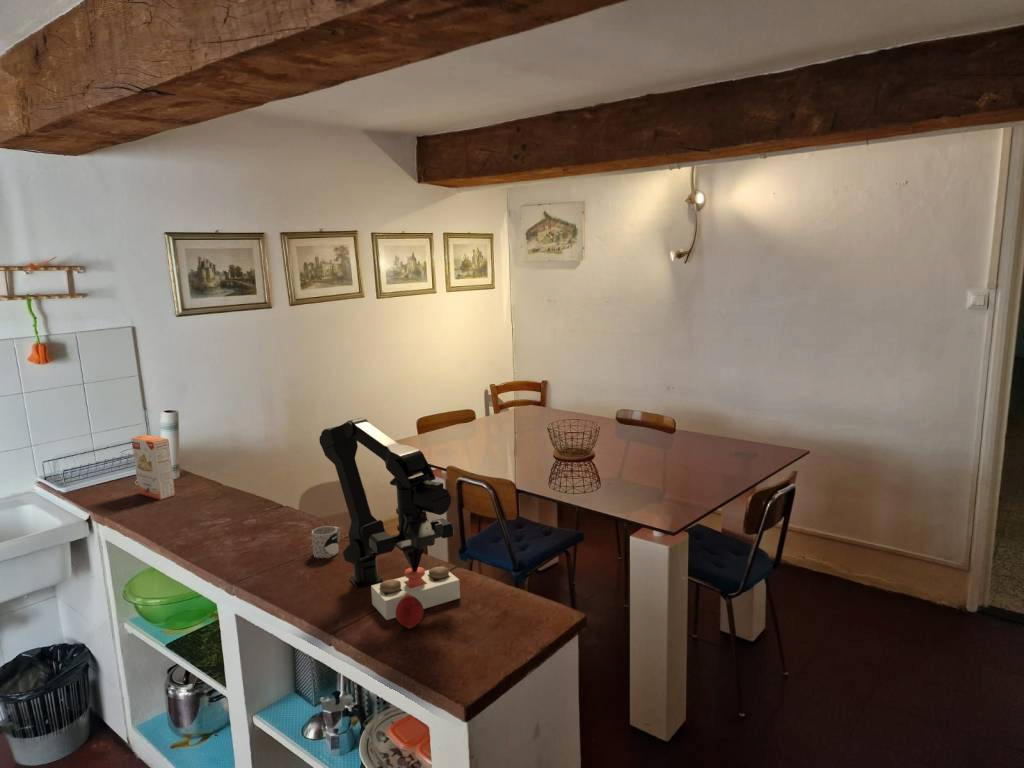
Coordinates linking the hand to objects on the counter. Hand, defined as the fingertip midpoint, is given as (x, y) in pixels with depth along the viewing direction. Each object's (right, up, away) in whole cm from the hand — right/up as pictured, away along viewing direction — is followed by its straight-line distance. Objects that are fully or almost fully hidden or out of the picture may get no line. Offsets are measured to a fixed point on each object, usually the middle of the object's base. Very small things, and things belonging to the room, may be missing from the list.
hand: (414, 571), depth 159 cm
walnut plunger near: (-5, -8, -2) cm, 9 cm away
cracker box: (-104, +3, +87) cm, 136 cm away
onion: (+1, -9, -11) cm, 14 cm away
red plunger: (0, -5, +1) cm, 6 cm away
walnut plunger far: (+5, -6, +4) cm, 9 cm away
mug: (-28, -3, +32) cm, 42 cm away
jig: (0, -7, +1) cm, 7 cm away
